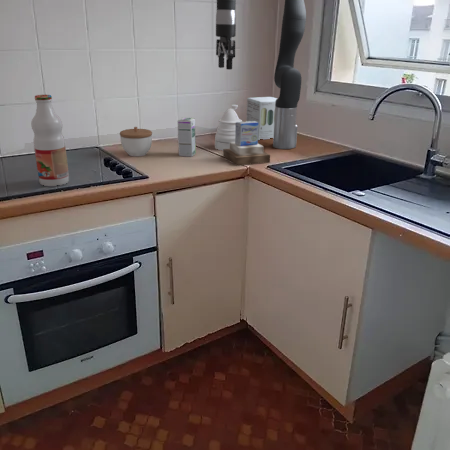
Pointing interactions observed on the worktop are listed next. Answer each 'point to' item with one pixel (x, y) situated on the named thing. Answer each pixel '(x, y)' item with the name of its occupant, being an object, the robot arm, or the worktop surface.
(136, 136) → the lidded bowl
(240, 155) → the plinth
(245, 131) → the medicine box
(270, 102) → the supplement box
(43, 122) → the fruit juice
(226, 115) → the honey pot
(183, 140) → the syrup box
